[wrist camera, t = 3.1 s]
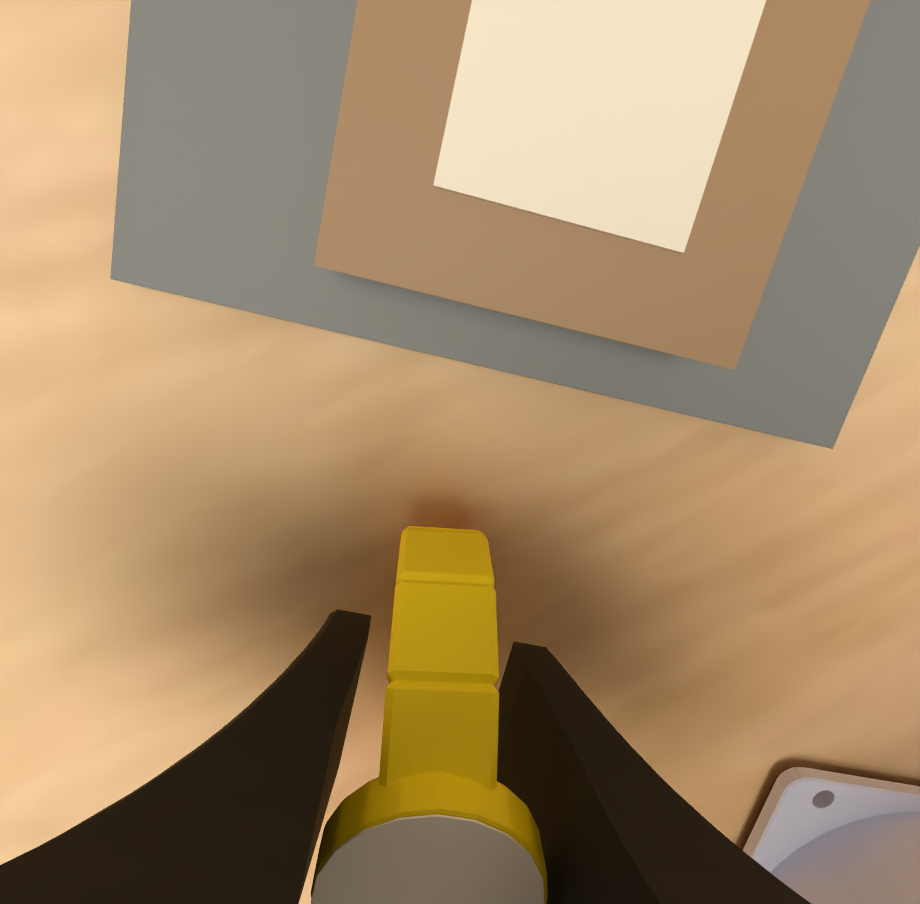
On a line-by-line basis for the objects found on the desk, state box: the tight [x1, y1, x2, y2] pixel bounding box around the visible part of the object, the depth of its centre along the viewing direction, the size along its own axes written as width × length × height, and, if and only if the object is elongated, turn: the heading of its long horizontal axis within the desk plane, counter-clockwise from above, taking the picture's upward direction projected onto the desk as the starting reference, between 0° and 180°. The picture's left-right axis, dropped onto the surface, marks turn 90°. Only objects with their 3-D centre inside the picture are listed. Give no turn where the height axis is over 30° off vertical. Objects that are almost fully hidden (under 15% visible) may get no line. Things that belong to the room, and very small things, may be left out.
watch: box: [311, 526, 548, 904], centre depth 9 cm, size 6×3×6 cm, turn 175°
